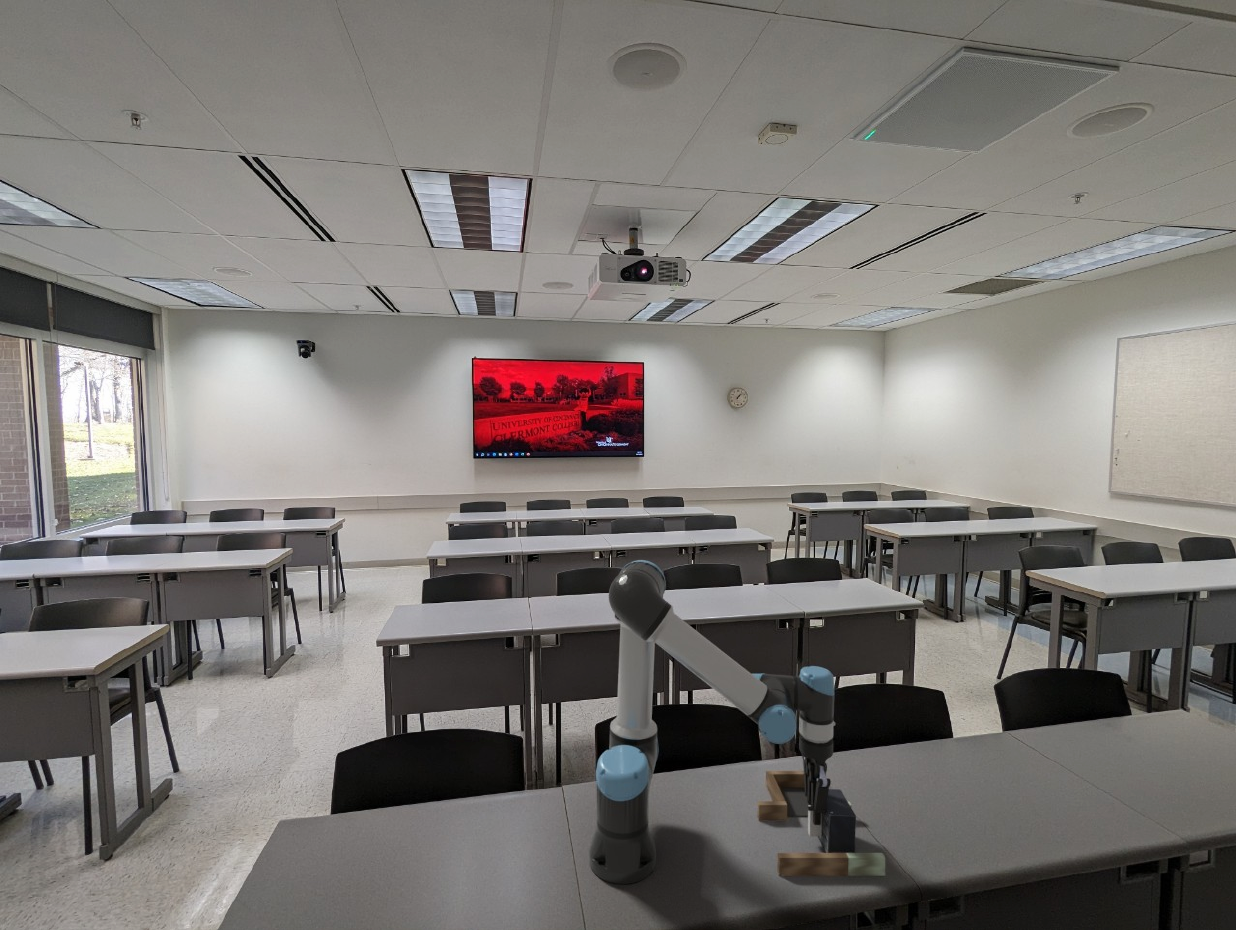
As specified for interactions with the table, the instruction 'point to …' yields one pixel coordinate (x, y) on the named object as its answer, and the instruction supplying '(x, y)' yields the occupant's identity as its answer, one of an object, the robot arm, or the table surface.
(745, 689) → the robot arm
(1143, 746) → the table surface
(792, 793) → the mat
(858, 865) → the wooden frame pieces
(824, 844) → the small box
